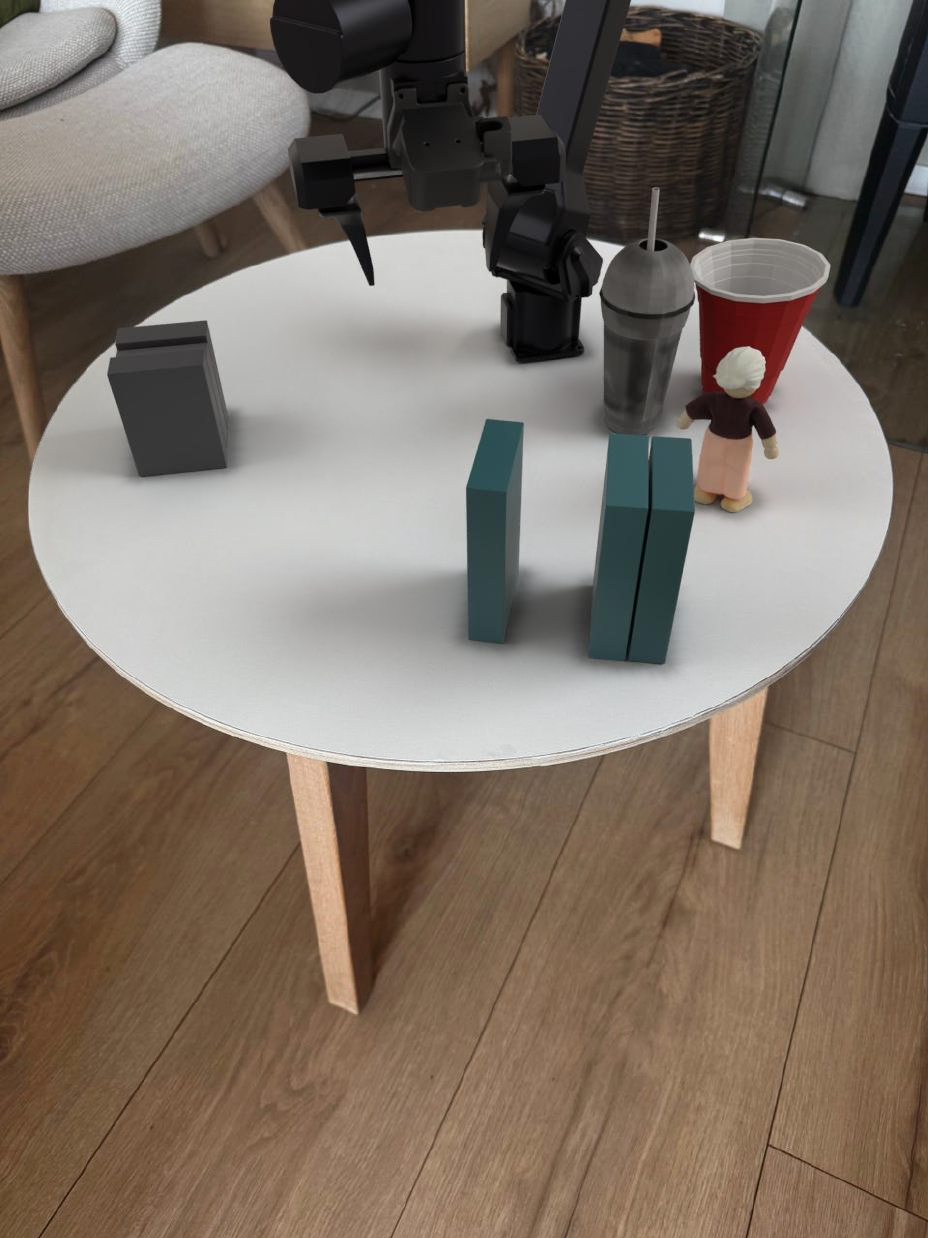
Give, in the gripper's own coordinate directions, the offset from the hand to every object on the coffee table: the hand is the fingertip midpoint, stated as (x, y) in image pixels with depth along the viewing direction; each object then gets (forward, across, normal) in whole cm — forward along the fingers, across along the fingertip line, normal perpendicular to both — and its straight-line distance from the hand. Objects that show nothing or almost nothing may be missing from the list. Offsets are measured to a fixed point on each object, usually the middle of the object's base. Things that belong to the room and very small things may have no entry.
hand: (431, 276), depth 75 cm
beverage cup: (+13, +16, -4) cm, 21 cm away
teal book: (+13, 0, -23) cm, 26 cm away
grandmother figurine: (+13, +19, -15) cm, 28 cm away
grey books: (+13, -21, +1) cm, 25 cm away
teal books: (+13, +8, -26) cm, 30 cm away
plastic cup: (+13, +26, -2) cm, 29 cm away
